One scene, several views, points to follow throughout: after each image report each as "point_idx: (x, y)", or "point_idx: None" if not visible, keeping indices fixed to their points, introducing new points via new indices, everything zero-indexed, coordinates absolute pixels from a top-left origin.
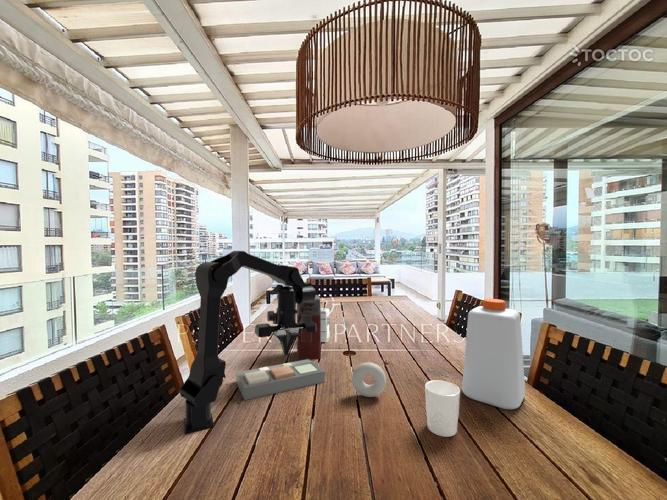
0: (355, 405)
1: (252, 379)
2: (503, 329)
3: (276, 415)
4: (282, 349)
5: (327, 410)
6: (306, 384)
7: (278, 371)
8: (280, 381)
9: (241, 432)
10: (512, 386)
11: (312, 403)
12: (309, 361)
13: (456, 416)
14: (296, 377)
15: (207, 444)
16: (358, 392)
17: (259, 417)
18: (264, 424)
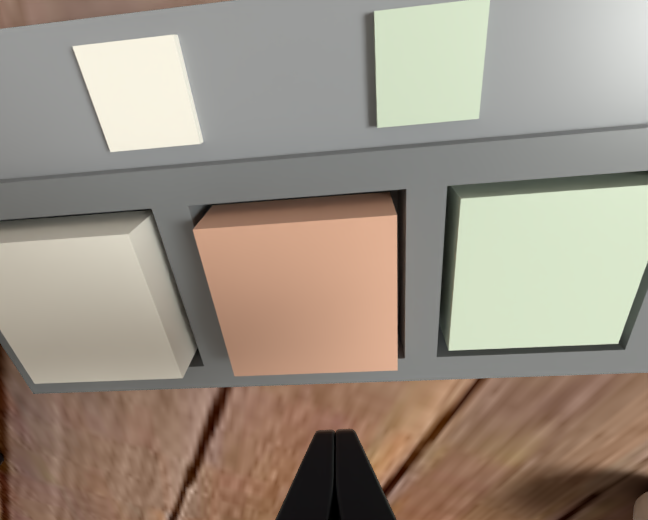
0: (556, 515)
1: (55, 368)
2: None
3: (237, 473)
4: (284, 500)
5: (435, 505)
6: None
7: (267, 314)
8: (272, 381)
9: (117, 502)
10: None
11: (404, 458)
12: None
13: None
14: (396, 378)
15: (25, 510)
16: (633, 512)
17: (171, 463)
18: (191, 495)
